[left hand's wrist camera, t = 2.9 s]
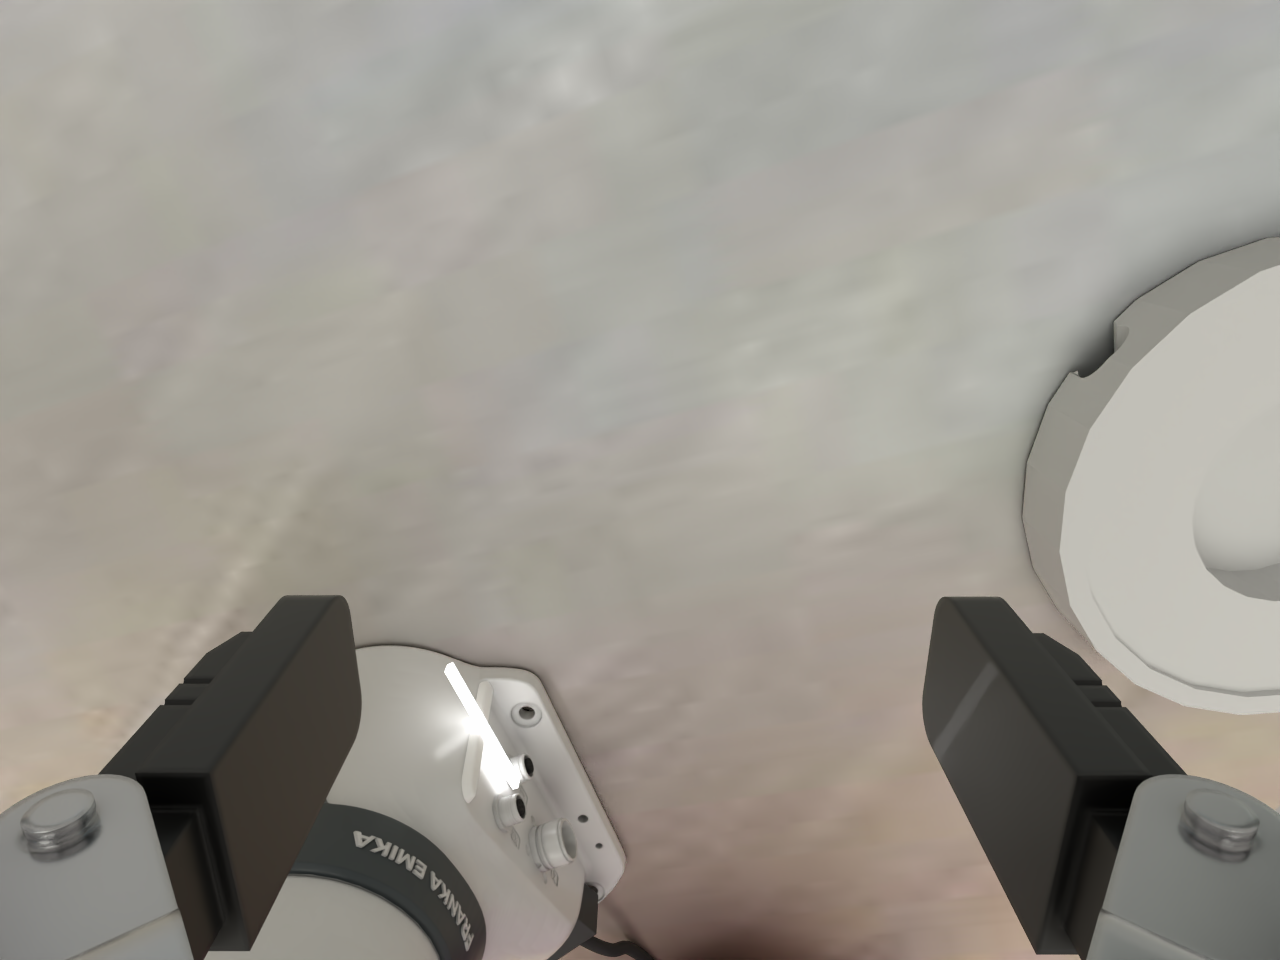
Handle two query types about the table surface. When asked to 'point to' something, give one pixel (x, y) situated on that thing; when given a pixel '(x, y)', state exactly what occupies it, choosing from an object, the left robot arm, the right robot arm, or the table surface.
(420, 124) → the table surface
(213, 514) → the table surface
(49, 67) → the table surface
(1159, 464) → the ashtray
